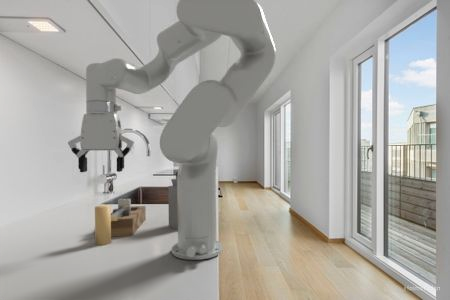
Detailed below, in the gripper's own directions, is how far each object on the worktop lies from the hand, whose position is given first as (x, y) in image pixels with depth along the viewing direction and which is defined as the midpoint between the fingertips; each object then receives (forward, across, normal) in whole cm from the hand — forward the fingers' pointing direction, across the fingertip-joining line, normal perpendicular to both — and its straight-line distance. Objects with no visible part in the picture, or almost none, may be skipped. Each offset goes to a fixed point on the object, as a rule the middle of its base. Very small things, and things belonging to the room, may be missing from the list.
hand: (101, 171), depth 77 cm
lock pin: (+14, -2, -9) cm, 17 cm away
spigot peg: (+20, 0, 0) cm, 20 cm away
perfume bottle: (+20, -21, -15) cm, 33 cm away
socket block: (+20, -2, -16) cm, 25 cm away
